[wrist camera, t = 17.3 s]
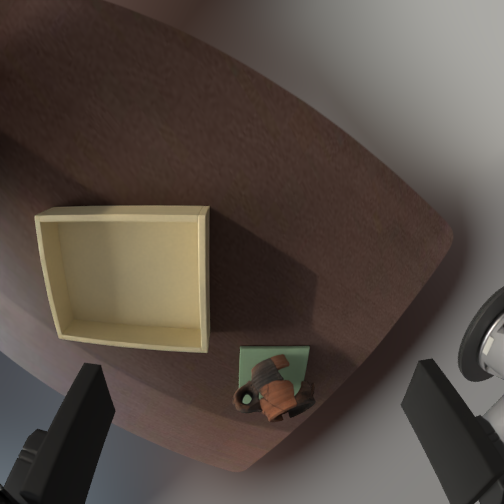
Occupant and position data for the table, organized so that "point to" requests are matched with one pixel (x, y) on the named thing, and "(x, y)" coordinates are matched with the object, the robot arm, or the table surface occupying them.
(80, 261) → the cream yellow tray
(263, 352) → the mat
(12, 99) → the table surface
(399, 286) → the table surface
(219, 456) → the table surface
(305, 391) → the pottery mug
